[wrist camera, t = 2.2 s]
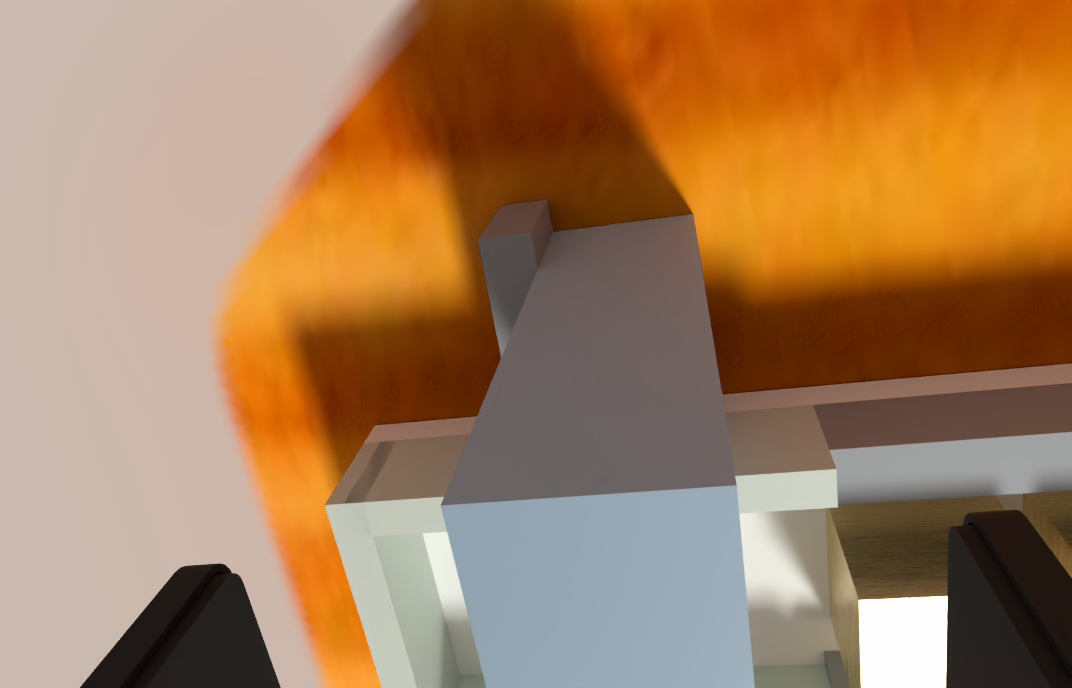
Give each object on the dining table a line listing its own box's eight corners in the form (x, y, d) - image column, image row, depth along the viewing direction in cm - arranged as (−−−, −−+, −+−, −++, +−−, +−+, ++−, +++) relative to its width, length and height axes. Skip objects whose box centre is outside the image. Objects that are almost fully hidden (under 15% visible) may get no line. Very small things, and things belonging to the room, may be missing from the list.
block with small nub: (501, 205, 21) (329, 452, 10) (689, 179, 20) (730, 418, 9) (535, 389, 23) (424, 765, 12) (708, 373, 22) (761, 762, 11)
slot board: (375, 425, 24) (324, 505, 20) (1488, 326, 19) (1688, 409, 15) (443, 675, 27) (411, 781, 24) (1395, 648, 22) (1538, 777, 19)
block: (825, 496, 22) (858, 600, 18) (989, 485, 21) (1058, 591, 17) (829, 616, 23) (862, 734, 20) (983, 610, 22) (1046, 731, 19)
